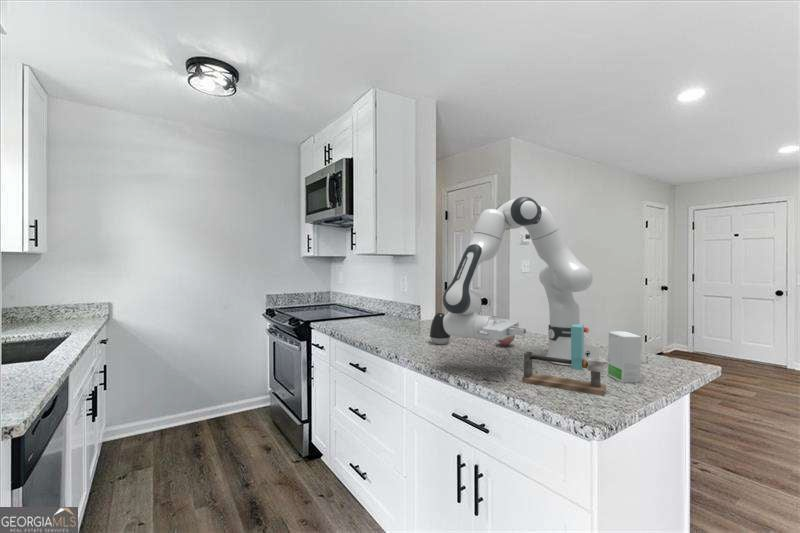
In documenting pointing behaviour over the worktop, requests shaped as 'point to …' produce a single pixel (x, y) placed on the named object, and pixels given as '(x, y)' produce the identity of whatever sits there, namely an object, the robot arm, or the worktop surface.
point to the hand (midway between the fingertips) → (524, 331)
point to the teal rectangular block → (577, 346)
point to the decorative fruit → (507, 340)
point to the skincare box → (624, 356)
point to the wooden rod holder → (565, 383)
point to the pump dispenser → (438, 330)
